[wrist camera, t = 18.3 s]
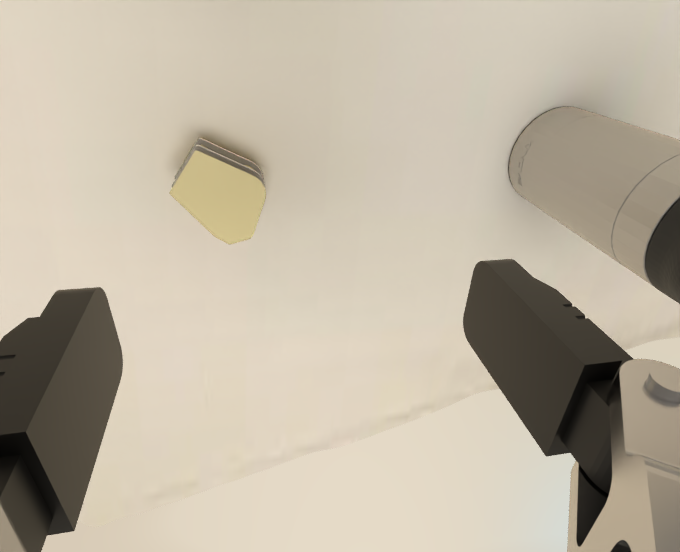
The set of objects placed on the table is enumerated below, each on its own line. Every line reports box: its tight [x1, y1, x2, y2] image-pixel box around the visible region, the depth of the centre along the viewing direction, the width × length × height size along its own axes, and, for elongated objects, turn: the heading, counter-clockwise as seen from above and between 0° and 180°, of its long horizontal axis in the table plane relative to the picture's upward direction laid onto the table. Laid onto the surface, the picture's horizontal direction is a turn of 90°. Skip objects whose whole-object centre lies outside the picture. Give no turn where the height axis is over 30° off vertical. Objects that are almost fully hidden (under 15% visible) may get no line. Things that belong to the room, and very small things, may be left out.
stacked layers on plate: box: [170, 138, 266, 244], centre depth 36 cm, size 10×9×6 cm
